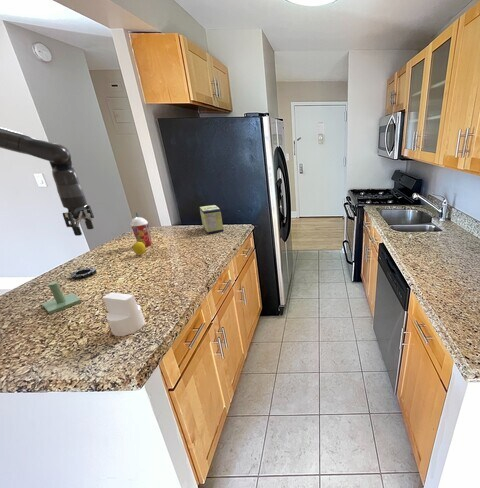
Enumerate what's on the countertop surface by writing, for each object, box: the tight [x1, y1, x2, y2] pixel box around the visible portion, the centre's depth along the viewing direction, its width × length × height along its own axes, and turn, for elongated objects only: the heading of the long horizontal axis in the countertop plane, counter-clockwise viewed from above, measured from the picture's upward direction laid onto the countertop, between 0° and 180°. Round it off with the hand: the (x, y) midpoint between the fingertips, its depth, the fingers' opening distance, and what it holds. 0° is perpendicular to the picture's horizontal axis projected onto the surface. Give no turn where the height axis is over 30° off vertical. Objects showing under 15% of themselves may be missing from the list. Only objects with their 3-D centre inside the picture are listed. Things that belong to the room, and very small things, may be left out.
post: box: [41, 281, 82, 315], centre depth 97 cm, size 9×9×9 cm
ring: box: [69, 267, 97, 281], centre depth 119 cm, size 8×8×2 cm
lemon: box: [132, 240, 147, 256], centre depth 139 cm, size 6×6×8 cm
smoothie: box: [129, 212, 153, 248], centre depth 149 cm, size 8×8×20 cm
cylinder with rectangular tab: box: [102, 292, 146, 337], centre depth 84 cm, size 9×9×12 cm
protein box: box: [198, 204, 225, 235], centre depth 176 cm, size 10×16×16 cm
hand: (84, 232), depth 113 cm, fingers open, 8 cm apart
